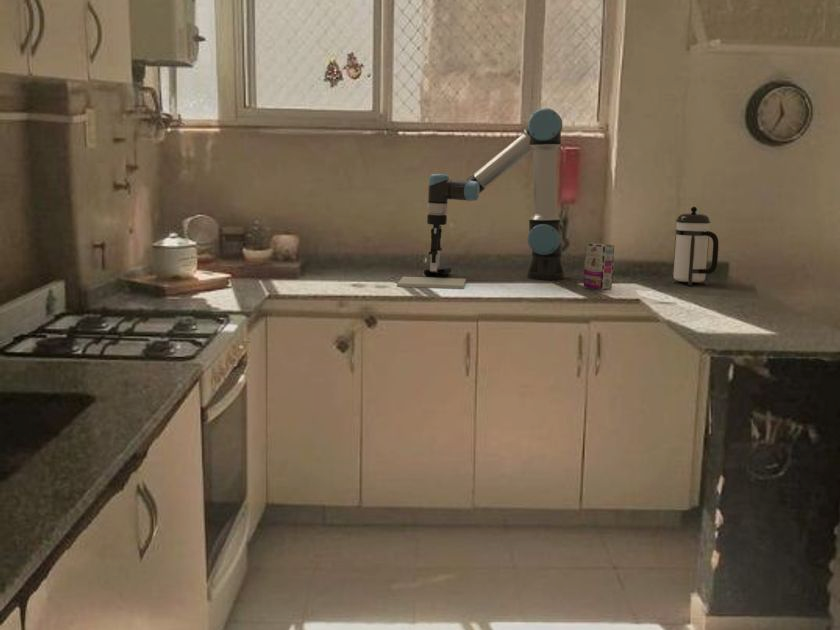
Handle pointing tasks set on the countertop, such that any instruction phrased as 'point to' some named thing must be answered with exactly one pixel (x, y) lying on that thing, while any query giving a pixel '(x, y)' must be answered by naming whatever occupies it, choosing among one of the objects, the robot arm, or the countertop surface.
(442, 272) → the flask
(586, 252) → the candy bar box
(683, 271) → the coffee press
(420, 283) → the beige flat panel
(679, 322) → the countertop surface
